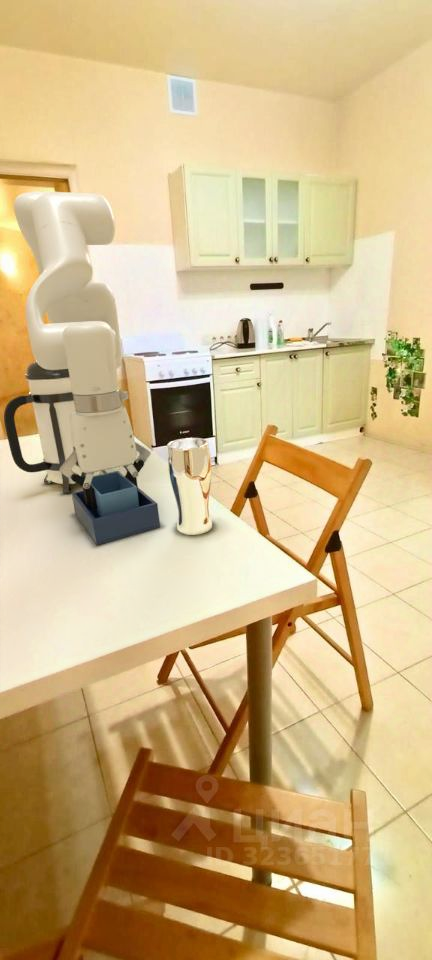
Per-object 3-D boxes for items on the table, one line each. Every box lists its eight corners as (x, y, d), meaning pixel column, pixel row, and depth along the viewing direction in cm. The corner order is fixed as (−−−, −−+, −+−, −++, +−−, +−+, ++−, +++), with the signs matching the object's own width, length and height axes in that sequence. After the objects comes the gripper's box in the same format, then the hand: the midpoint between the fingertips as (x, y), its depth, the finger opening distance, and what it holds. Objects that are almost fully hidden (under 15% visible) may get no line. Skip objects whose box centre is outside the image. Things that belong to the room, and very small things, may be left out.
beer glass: (168, 524, 78) (159, 442, 73) (204, 515, 81) (198, 435, 76) (184, 540, 73) (176, 452, 67) (222, 529, 76) (217, 444, 70)
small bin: (87, 500, 83) (84, 478, 82) (121, 492, 86) (118, 470, 85) (103, 520, 75) (99, 495, 74) (139, 510, 78) (136, 486, 77)
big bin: (75, 514, 85) (71, 492, 83) (131, 500, 90) (128, 479, 88) (96, 545, 73) (92, 520, 71) (160, 527, 78) (157, 503, 76)
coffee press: (56, 471, 110) (31, 344, 100) (119, 470, 108) (100, 340, 98) (19, 499, 94) (-15, 351, 83) (92, 498, 92) (66, 347, 81)
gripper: (139, 392, 81) (150, 484, 87) (39, 407, 73) (59, 506, 79) (155, 398, 75) (165, 496, 81) (47, 414, 67) (68, 522, 73)
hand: (112, 500), depth 80 cm, fingers closed on small bin, 6 cm apart
